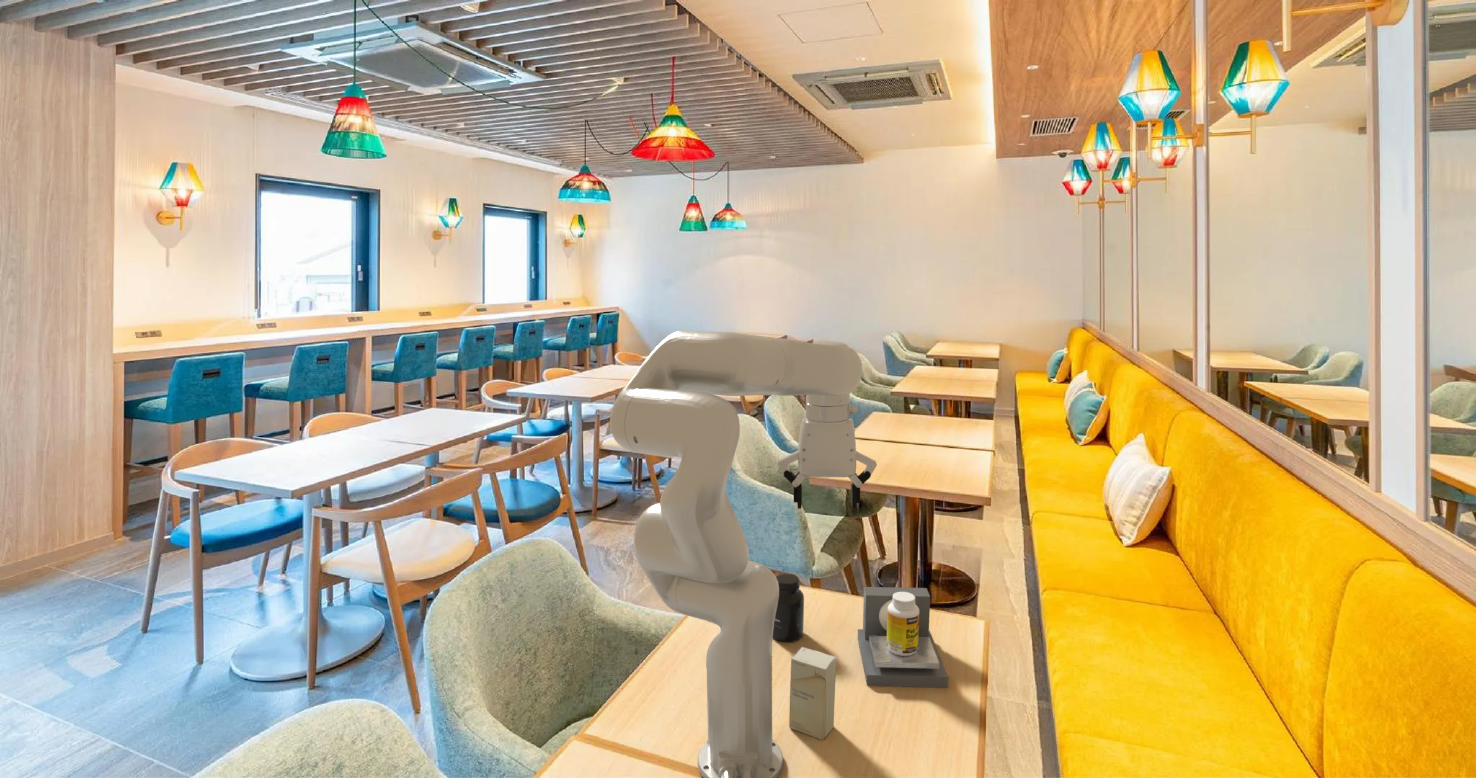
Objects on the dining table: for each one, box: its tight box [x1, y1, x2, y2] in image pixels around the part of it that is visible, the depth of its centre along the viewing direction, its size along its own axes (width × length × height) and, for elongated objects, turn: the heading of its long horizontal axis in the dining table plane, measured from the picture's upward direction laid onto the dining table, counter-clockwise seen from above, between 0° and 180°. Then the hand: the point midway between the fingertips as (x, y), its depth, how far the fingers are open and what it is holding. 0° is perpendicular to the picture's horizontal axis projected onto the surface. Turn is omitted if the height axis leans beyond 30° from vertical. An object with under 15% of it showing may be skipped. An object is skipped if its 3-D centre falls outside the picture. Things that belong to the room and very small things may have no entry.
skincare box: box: [788, 646, 837, 741], centre depth 113 cm, size 6×4×12 cm
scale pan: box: [869, 636, 939, 669], centre depth 129 cm, size 9×11×2 cm
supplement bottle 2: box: [887, 592, 919, 656], centre depth 128 cm, size 6×6×10 cm
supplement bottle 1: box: [773, 573, 805, 643], centre depth 142 cm, size 7×7×12 cm
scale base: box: [857, 586, 949, 689], centre depth 132 cm, size 16×14×11 cm
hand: (826, 506), depth 127 cm, fingers open, 9 cm apart
